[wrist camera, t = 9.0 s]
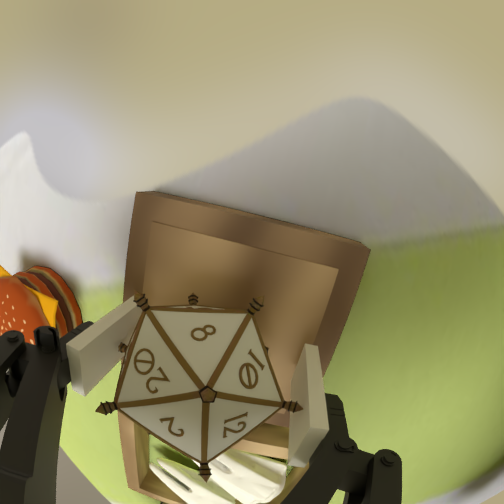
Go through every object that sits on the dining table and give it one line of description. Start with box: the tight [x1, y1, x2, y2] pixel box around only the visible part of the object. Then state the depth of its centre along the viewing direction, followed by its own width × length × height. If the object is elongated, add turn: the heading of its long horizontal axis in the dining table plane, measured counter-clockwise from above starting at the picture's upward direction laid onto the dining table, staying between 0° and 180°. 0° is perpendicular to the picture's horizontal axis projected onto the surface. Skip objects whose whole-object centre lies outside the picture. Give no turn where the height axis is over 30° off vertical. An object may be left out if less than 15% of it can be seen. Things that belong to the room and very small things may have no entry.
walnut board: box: [121, 191, 370, 428], centre depth 18 cm, size 14×14×3 cm
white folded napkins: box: [149, 448, 287, 504], centre depth 21 cm, size 12×4×11 cm
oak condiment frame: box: [118, 411, 309, 504], centre depth 22 cm, size 18×18×4 cm
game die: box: [95, 290, 303, 483], centre depth 12 cm, size 9×8×10 cm
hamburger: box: [0, 265, 82, 345], centre depth 19 cm, size 9×10×7 cm
